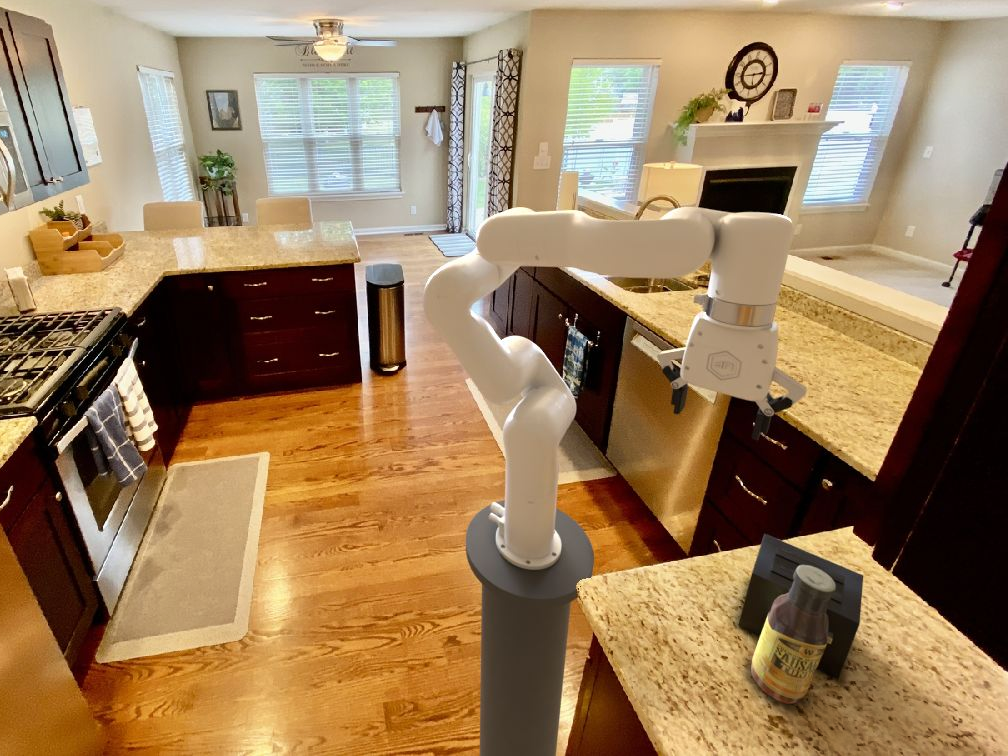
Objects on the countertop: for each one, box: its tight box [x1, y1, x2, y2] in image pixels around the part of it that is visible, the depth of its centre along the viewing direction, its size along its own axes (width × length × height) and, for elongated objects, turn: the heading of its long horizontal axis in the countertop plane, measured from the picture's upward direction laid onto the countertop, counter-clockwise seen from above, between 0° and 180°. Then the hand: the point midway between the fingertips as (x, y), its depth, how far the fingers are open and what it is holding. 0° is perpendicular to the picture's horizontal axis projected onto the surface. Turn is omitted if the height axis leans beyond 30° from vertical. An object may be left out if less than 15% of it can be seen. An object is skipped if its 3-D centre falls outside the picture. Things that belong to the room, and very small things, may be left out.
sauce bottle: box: [750, 565, 836, 705], centre depth 64 cm, size 6×6×20 cm
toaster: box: [737, 533, 864, 681], centre depth 73 cm, size 12×11×11 cm
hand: (715, 422), depth 69 cm, fingers open, 9 cm apart
